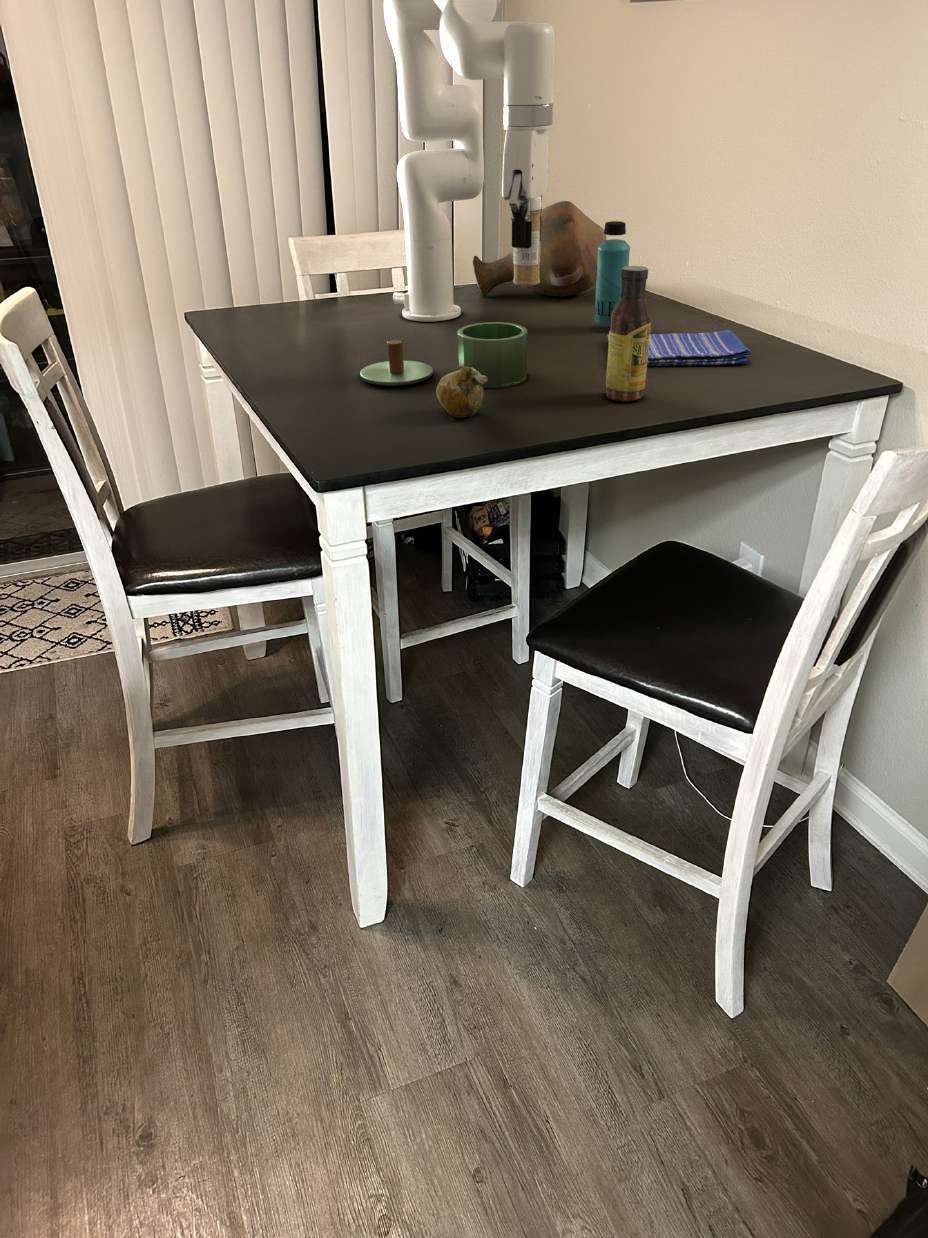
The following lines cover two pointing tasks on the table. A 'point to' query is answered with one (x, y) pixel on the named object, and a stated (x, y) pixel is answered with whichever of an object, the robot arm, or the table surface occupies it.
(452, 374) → the onion
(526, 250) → the sprinkles bottle
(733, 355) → the dish towel
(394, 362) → the tin lid
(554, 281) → the jug
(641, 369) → the sauce bottle
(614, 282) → the beverage bottle
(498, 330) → the tin
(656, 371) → the table surface
